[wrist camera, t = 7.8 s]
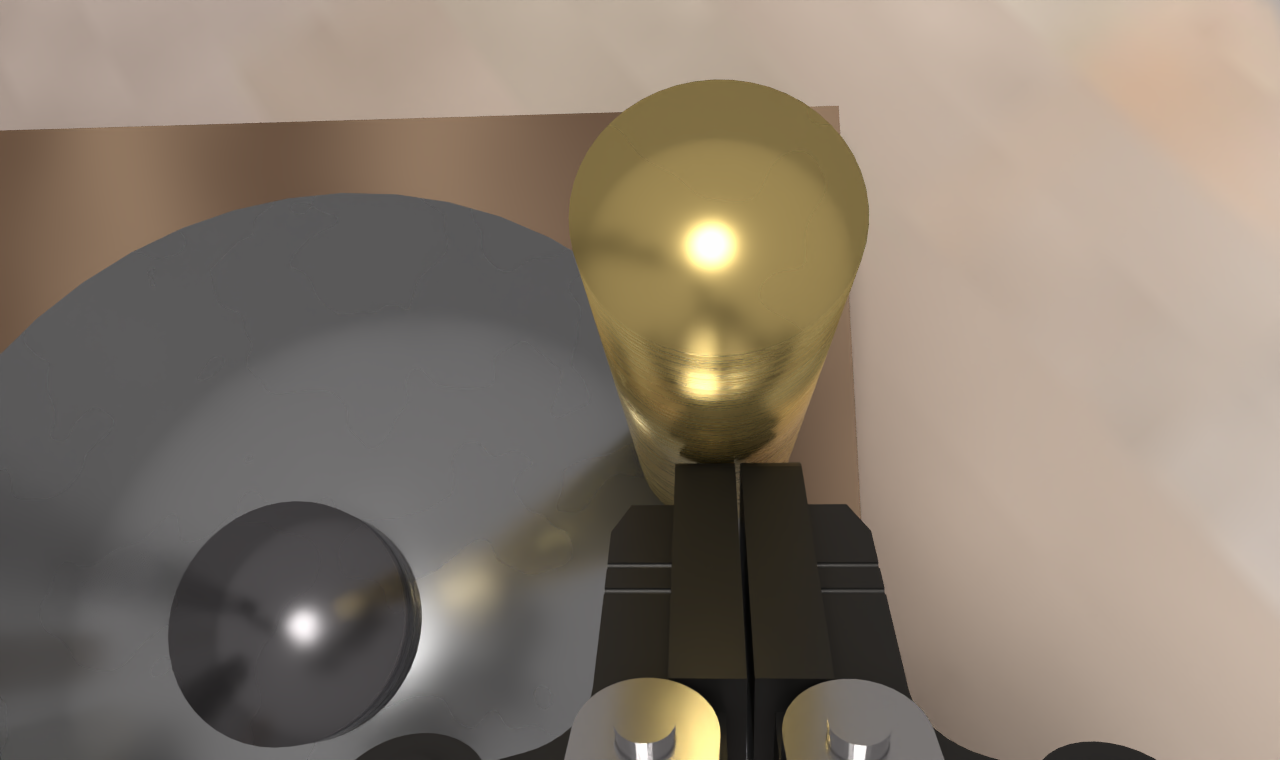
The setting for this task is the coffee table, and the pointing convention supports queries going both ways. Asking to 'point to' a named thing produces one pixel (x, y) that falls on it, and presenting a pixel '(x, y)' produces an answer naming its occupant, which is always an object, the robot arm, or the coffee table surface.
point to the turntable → (319, 165)
